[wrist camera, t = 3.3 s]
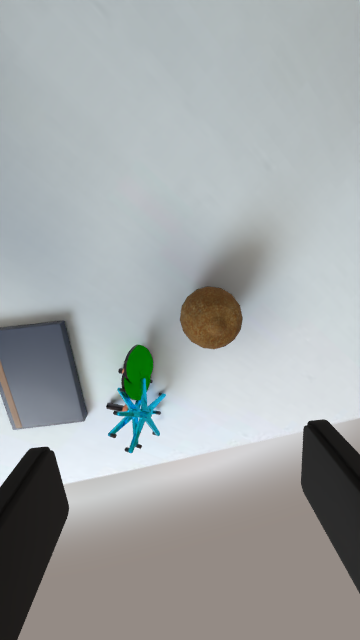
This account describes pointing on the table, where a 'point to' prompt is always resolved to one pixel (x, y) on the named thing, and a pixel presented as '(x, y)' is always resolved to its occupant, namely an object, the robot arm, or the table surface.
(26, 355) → the notebook
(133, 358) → the stick construction toy
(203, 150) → the table surface
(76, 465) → the table surface
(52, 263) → the table surface
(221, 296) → the fruit
